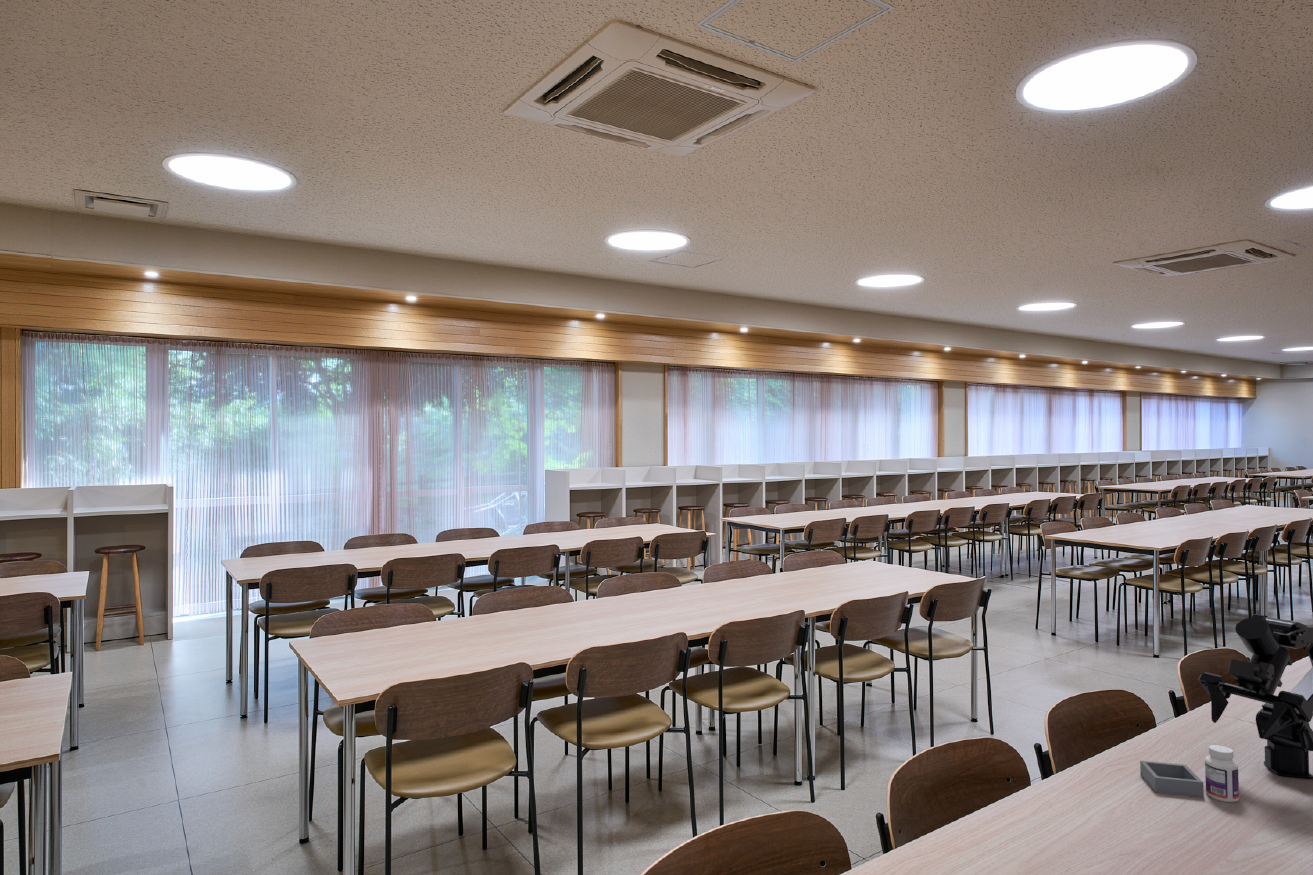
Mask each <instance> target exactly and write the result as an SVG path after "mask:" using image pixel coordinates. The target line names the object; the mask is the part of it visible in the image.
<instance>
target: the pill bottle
mask: <svg viewBox="0 0 1313 875" xmlns="http://www.w3.org/2000/svg"><path fill="white" fill-rule="evenodd" d="M1208 754H1209V755H1207V756H1206V757H1204V758H1205V759H1204V770H1205V771H1204V772H1205V774H1204V775H1205V792H1206V795H1207V796H1209V797H1210V798H1211V799H1214V800H1217V801H1219V802H1220V801H1221V802H1225V803H1235V802H1236V803H1237V802H1238V801H1239V799H1240V788H1239V787H1240V785H1239V784H1240V782H1239V765H1238V763H1237V762H1236V760H1234V757H1235V754H1234V750H1233V749H1231V748H1230V747H1227V746H1225V745H1218V744H1212V745H1209V746H1208Z"/></svg>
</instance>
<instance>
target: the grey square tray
mask: <svg viewBox="0 0 1313 875" xmlns="http://www.w3.org/2000/svg"><path fill="white" fill-rule="evenodd" d="M1139 763H1140V765H1139V766H1140V771H1139V772H1140V776H1141V775H1142V776H1141V777H1142V778H1143V777H1144V778H1143V779H1144V781H1147V782H1146V783H1147V784H1148V785H1149V786H1150V788H1151V789H1152V790H1153V792H1154V793H1158V792H1159V793H1160V794H1169V795H1170V794H1171V795H1178V796H1189V797H1199V798H1205V796H1204V795H1205V794H1204V793H1205V792H1204V791H1205V790H1204V781H1203V780H1202V779H1201V778H1200V777H1199V776H1198V775H1197V774H1196V773H1195V772H1194V771H1192V769H1191V768H1189V766H1187V764H1180V763H1171V762H1161V761H1160V762H1159V761H1150V760H1149V761H1148V760H1140V761H1139Z"/></svg>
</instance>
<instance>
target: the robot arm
mask: <svg viewBox="0 0 1313 875" xmlns="http://www.w3.org/2000/svg"><path fill="white" fill-rule="evenodd" d="M1234 629H1235V632H1236V634H1237V636H1238V637H1239V639H1240V641H1241V642H1242V643H1243V645H1244V647H1245V648H1246V650H1247V651H1248V652H1250V653H1251V654H1252V655H1251V657H1250V659H1249V661H1247V660H1241V659H1237V658H1234V657H1232V658H1229V664H1228V668H1227V672H1226V673H1227V674H1229V675H1233V680H1234V682H1235V683H1237V684H1238V685H1236V684H1231V683H1228V681H1227V680H1226V679H1225V677H1224V676H1223V675H1220V674H1216V673H1213V672H1208V671H1205V672H1201V674H1200V675H1199V677H1198V679H1197V681H1198V683H1199V684H1200V686H1201V688H1202V689H1203V691H1205V693H1206V694H1207V695H1208V696H1209V697H1210V701H1211V702H1210V705H1211V708H1210V709H1211V721H1212V722H1213V723H1214V724H1215V723H1217V722H1218V721H1219V720H1220V718H1221V717H1222V716H1223V713H1224V712H1225V709H1226V708H1227V706H1228V705H1229V700H1228V699H1230V698H1231V696H1232V695H1235V696H1238V697H1241V698H1242V697H1243V698H1245V699H1246V698H1247V699H1249V700H1255V701H1258V702H1260V703H1261V702H1262V703H1264V704H1261V709H1260V710H1258V711H1257V713H1256V714H1255V724H1256V728H1257V732H1258V737H1259V739H1262V740H1266V743H1267V744H1266V745H1265V746H1264V761H1263V765H1265V767H1267V768H1269V769H1270V771H1272V772H1274V773H1275V774H1276V775H1277V776H1281V777H1293V778H1301V779H1303V778H1304V779H1313V774H1312V773H1310V758H1309V756H1310V754H1309V753H1310V752H1313V729H1312V727H1311V725H1310V722H1311V721H1312V719H1313V624H1304V623H1302V622H1299V621H1294V620H1286V619H1281V618H1276V617H1269V616H1265V615H1264V614H1263V615H1262V614H1257V613H1253V614H1252V616H1251V617H1248V618H1243V619H1242V620H1240V621H1239V622H1237V623H1236V624H1235V628H1234ZM1307 644H1308V646H1307ZM1306 646H1307V648H1306V653H1307V655H1308V658H1309V660H1310V663H1311V668H1310V669H1309V671H1307V673H1306V674H1305V675H1304V676H1303V677H1302V678H1301V680H1300V681H1299V682H1298V683H1297V684H1296V685H1295V686H1294V688H1292V689H1291V691H1286V690H1280V691H1279V692H1278V694H1277V695H1275V692H1276V690H1277V688H1278V687H1279V688H1282V686H1283V682H1282V680H1281V678H1282V676H1283V674H1284V672H1285V670H1286V667H1287V666H1289V667H1290V666H1292V665H1293V661H1292V659H1291V655H1290V653H1289V652H1288V650H1287V649H1286V648H1290V649H1295V650H1298V649H1301V648H1305V647H1306Z"/></svg>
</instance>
